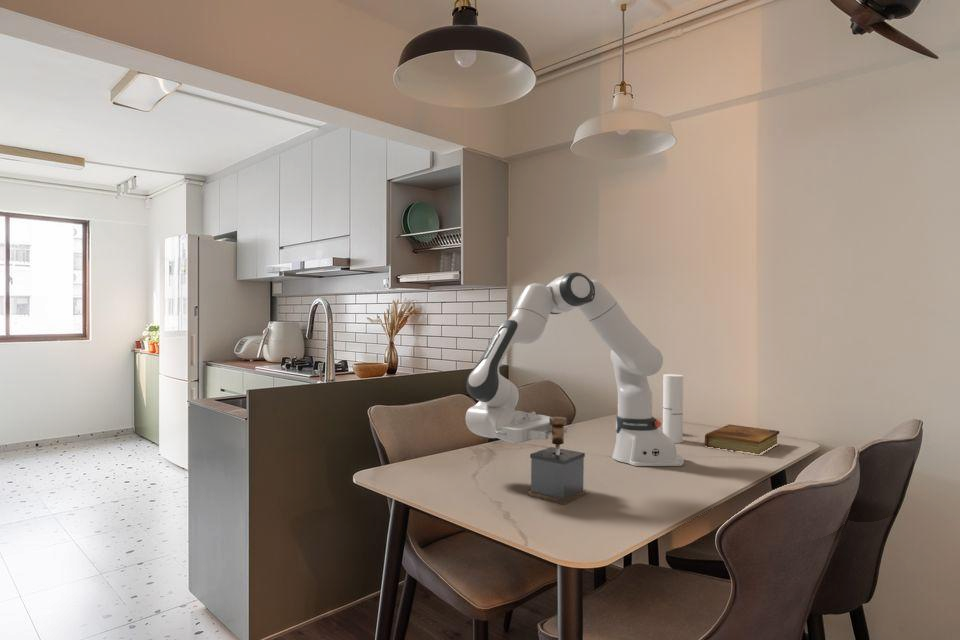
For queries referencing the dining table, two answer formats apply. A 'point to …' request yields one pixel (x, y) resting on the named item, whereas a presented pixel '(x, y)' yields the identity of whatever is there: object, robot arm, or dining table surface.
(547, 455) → the grey box
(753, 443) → the diary
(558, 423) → the plunger
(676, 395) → the cylindrical container
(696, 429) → the dining table surface
